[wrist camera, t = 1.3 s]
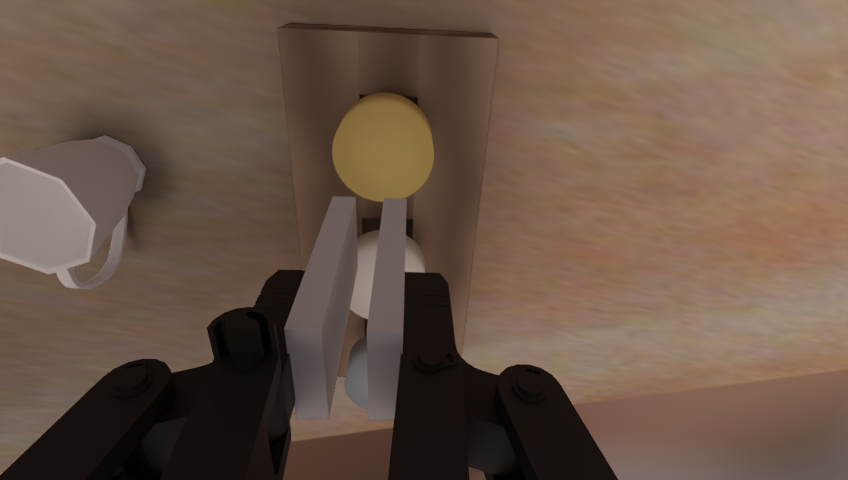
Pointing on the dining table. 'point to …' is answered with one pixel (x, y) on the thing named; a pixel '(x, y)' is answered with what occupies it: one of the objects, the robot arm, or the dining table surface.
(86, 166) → the cup
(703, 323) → the dining table surface
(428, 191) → the panel
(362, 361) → the slate button
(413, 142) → the mustard button
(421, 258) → the cream button
